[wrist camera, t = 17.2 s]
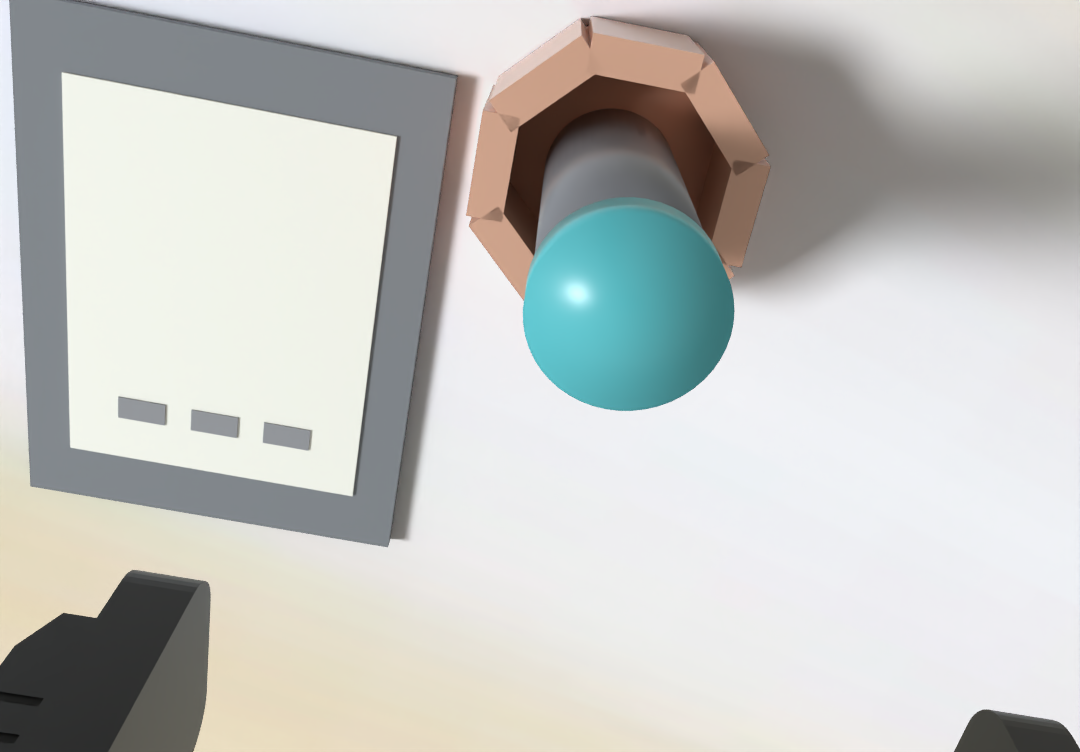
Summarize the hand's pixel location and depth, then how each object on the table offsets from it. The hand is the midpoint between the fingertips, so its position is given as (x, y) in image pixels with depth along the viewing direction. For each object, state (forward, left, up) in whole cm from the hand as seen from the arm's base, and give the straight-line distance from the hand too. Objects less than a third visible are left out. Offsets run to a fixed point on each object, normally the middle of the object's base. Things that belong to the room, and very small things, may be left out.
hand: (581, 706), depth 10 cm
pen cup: (-1, +1, -23) cm, 23 cm away
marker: (0, +1, -22) cm, 22 cm away
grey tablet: (+6, -10, -23) cm, 26 cm away
